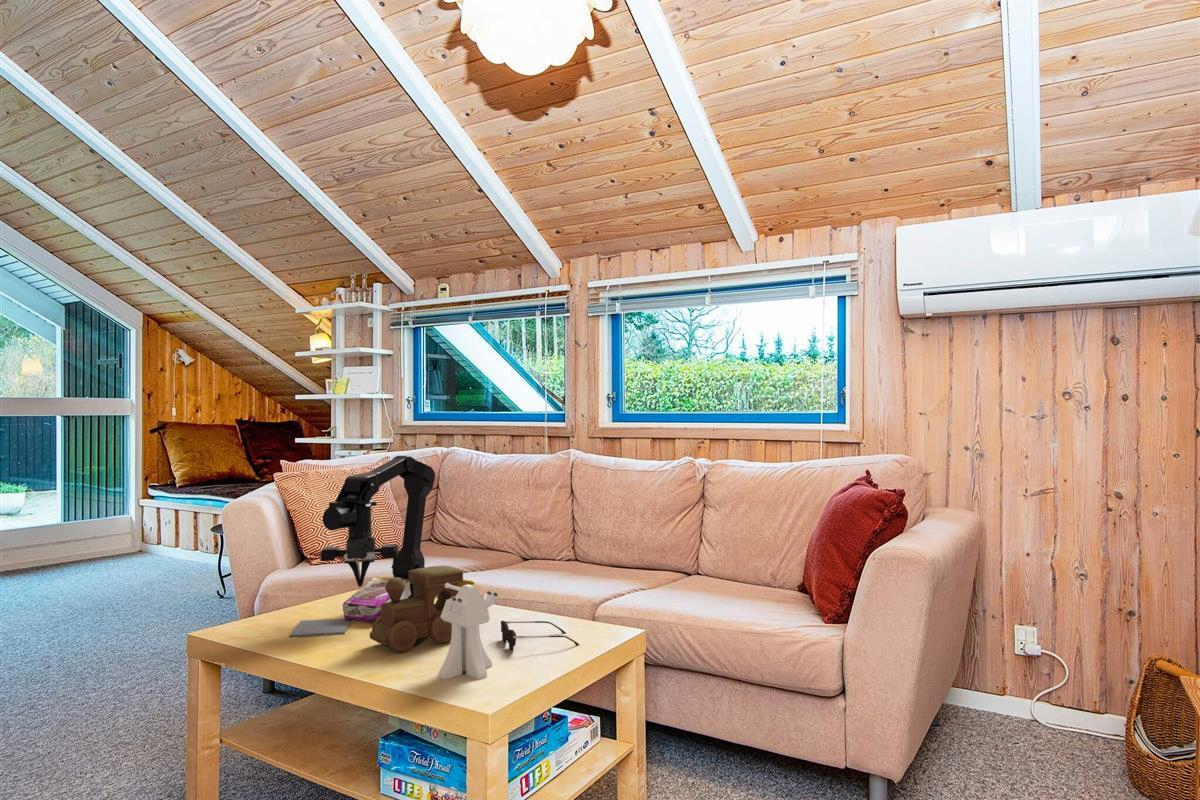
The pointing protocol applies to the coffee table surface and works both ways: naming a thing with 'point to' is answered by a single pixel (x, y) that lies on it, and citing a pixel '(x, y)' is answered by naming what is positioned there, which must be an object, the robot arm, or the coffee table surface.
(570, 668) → the coffee table surface
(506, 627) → the sunglasses
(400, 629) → the wooden toy train
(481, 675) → the toy gun turret
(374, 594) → the candy bar box
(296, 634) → the mat
